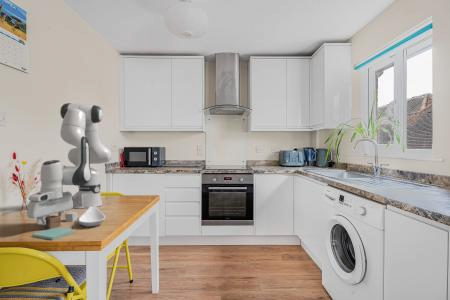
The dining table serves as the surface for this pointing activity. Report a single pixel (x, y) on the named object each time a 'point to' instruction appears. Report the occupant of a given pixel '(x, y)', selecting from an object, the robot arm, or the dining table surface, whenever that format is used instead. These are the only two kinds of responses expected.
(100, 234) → the dining table surface
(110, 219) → the dining table surface
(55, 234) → the teal mat
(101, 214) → the spoon rest
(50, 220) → the walnut block
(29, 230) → the dining table surface
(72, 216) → the grey cube
